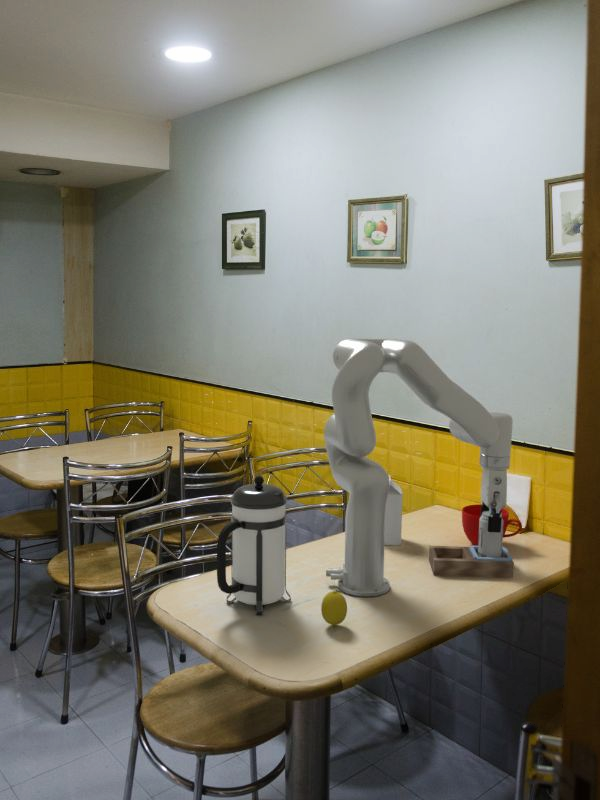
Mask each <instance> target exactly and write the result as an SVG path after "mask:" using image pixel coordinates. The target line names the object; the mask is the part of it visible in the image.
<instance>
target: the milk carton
mask: <svg viewBox="0 0 600 800" xmlns="http://www.w3.org/2000/svg"><path fill="white" fill-rule="evenodd" d="M388 477H389V482H390V486H389V493H388V497H387V502H386V511H385V542H384V546H397V547H399V546H401V547H402V530H403V529H402V526H403V525H402V524H403V522H402V520H403V519H402V518H403V489H402V488H401V487H400V486H399V485H398V484H397V482H395V481H394V480H393V479H391V475H390V474H388Z"/></svg>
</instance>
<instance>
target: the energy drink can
mask: <svg viewBox="0 0 600 800" xmlns="http://www.w3.org/2000/svg"><path fill="white" fill-rule="evenodd" d="M488 516H490V512H489V511H484V512H482V516H481V517H480V519H479V542H478V557H495V558H502V546H503V539H504V538H503V519H502V521H501V532H500V533H497V532H488Z"/></svg>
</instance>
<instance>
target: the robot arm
mask: <svg viewBox="0 0 600 800" xmlns="http://www.w3.org/2000/svg"><path fill="white" fill-rule="evenodd" d="M332 361H333V363H334V365H335V367H336V368H337V370H339V371H338V372H337V374H336V376H335V378H334V380H333V381H334V382H333V385H332V388H331V401H332V407H333V414H332V415H330V417H329V418H328V419H327V420H326V422H325V426H324V429H323V439H324V444H325V448H326V454H327V459H328V462H329V467H330V470H331V475H332V477H333V480H334V481H335V483H336V484H337V485H338V486H339V487H340V488H341V489H343V490H345V491H346V492H347V493H349V498H348V502H347V505H346V510H345V522H344V523H345V524H344V525H345V531H344V564H343V565H342V567H339V568H336V569H335V568H325V570H326V571H325V576H326V577H330V580H334V581H335V580H338V581H337V587H338V588H339V590H340V591H342V592H344V594H347V595H351V596H356V597H367V598H368V597H377V596H381V595H384V594H385V593H387V592H388V591H389V590H390V589H391V587H390V585H391V582H390V581H389V580H388V579H387V578H385V577H384V576H385V571H384V570H385V545H384V542H385V511H386V502H387V497H388V493H389V486H390V482H389V474H388V472H387V470H386V468H384V466H382V465H381V464H380V463H379V462H377V461H375V460H373V459H370V458H369V457H367V456H369V455H370V454H372V452H374V450H375V447H376V446H377V445H376V444H377V436H376V430H375V425H374V419H373V417H372V410H371V406H370V398H369V395H370V394H369V393H370V388H371V385H372V383H373V381H374V379H376V377H377V376H378V375H379V373H391V374H395V375H396V376H398V377H399V378H400V379H401V380H402V381H403V382H404V383H405V384H406V386H408V388H410V389H411V391H412V392H413V393H414V394H415V395H416V396H417V397H418V398H419V399H420V401H421V402H423V403H424V404H425V405H426V406H428V407H429V408H431V409H432V410H434V411H436V412H439V413H440V414H442V415H444V416H446V417H447V418H449V419H450V421H449V424H448V429H449V431H450V434H451V435H452V437H454V438H455V439H457V440H458V441H461V442H463V443H467V444H470V445H473V446H476V447H479V460H478V461H479V465H478V466H479V467H480V468H482V470H481V471H482V473H481V481H480V482H481V485H480V498H481V504H480V505H481V516H482V512H484V511H489V512H490V516H488V532H497V533H500V532H501V521H502V510H501V508H503V509H505V508H506V507H507V501H508V500H507V499H508V498H507V497H508V495H507V494H508V475H507V470H509V469H510V466H511V452H512V451H511V450H512V437H513V436H512V435H513V418H512V416H511V415H510V414H508V413H504V412H503V413H502V412H489V411H488V409H486V408H485V407H484V405H482V403H480V402H479V401H478V400H477V399H476V398H475V397H473V396H472V395H471V394H469V392H467V391H466V390H465V389H463V388H462V387H461V386H460V385H459V384H457V383H456V382H455V381H453V380H452V379H451V378H450V377H449V376H448V375H447V374H446V373H445V372H444V371H443V370H442V369H441V368H440V367H439V365H438V364H437V363H436V362H435V361H434V360H433V359H432V358H431V357H430V355H429V354H428V353H427V352H426V351H425V350H424V349H423V348H422V347H421V346H420V345H419V344H417V343H416V342H414V341H412V340H407V339H398V338H347V339H343V340H341V341H340V342H338V343H337V345H336V346H335V347H334V350H333V353H332ZM481 516H480V517H481Z"/></svg>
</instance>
